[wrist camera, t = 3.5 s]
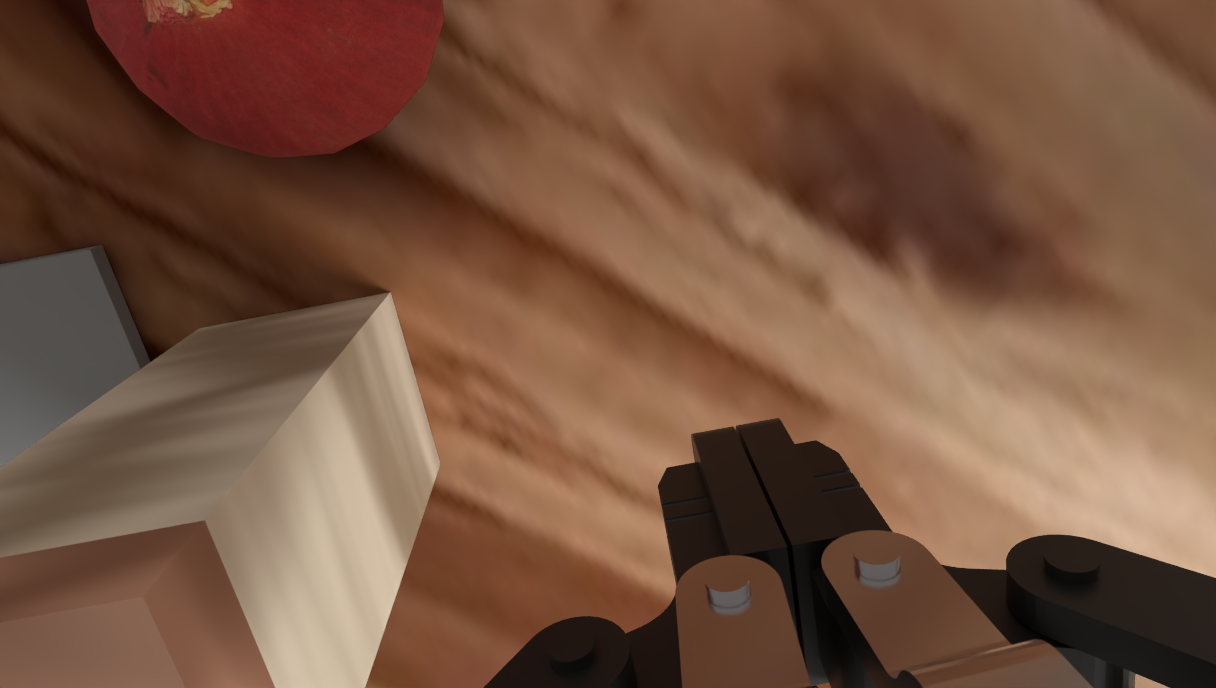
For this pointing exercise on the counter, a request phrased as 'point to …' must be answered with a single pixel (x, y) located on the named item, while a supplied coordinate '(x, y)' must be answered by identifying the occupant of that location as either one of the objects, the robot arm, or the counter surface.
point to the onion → (275, 65)
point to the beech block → (222, 512)
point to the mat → (60, 342)
